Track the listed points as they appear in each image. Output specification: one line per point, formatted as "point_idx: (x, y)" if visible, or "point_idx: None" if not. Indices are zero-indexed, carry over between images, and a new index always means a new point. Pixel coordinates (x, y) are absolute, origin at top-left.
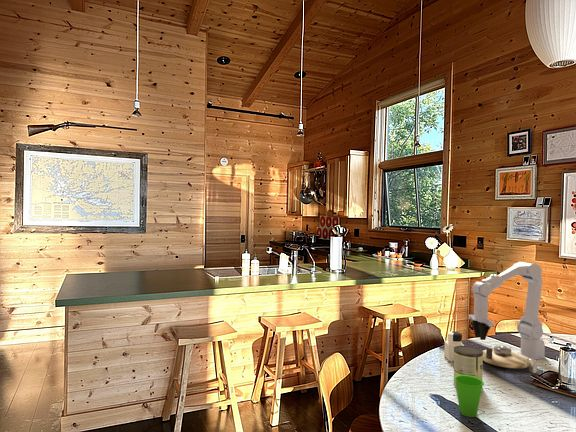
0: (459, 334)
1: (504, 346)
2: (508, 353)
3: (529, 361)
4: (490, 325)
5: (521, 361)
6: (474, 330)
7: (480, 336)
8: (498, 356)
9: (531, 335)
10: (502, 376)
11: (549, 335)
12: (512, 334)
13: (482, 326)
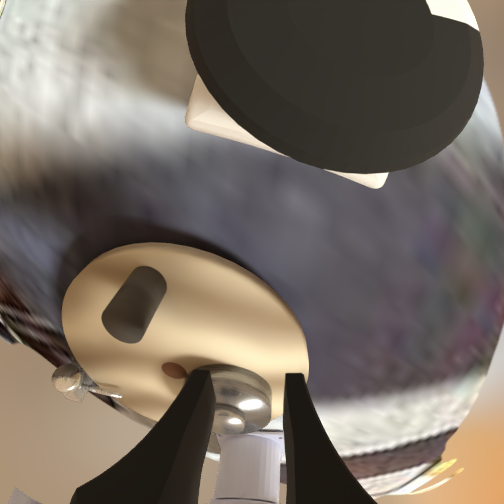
0: (221, 46)
1: (221, 430)
2: None
3: (63, 380)
4: (12, 500)
5: (112, 380)
6: (307, 438)
7: (190, 394)
8: (176, 348)
9: None
10: (20, 212)
11: (371, 495)
12: (423, 464)
13: (73, 501)
